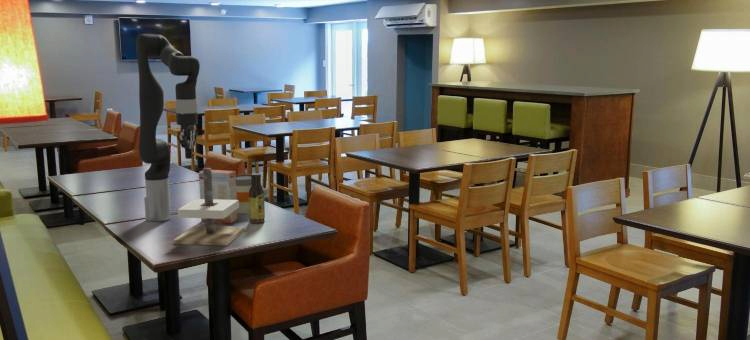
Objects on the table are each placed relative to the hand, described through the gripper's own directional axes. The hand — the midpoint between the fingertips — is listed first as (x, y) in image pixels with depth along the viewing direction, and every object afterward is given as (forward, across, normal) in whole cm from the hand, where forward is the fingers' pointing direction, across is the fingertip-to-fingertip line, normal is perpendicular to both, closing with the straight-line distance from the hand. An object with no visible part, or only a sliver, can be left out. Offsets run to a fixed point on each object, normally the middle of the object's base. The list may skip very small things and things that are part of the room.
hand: (189, 158), depth 232 cm
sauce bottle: (+30, -22, +18) cm, 41 cm away
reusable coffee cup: (+30, -40, +7) cm, 51 cm away
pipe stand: (+30, +1, +7) cm, 30 cm away
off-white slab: (+20, +1, +7) cm, 21 cm away
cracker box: (+30, -22, +2) cm, 37 cm away
